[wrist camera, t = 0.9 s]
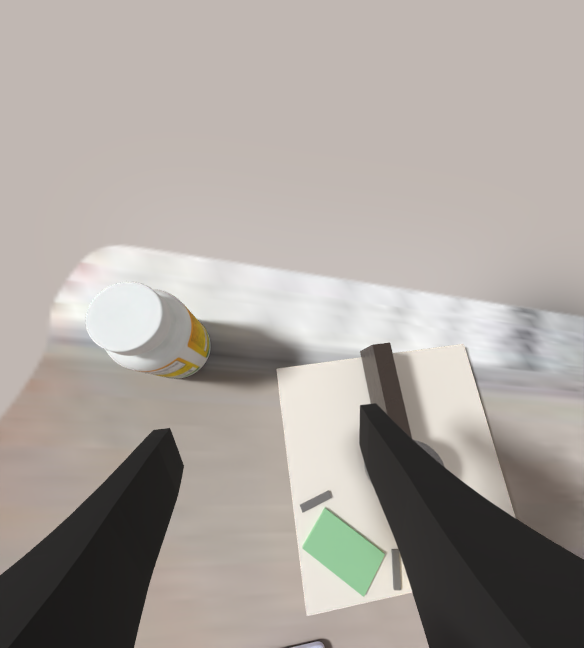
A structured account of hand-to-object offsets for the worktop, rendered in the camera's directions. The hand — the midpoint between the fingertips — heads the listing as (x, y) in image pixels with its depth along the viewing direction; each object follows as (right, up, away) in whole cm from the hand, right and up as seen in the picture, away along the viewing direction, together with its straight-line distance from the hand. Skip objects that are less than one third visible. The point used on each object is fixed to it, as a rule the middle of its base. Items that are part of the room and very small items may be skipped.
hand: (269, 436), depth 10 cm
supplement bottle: (-9, +2, +14) cm, 16 cm away
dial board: (+9, -7, +12) cm, 17 cm away
